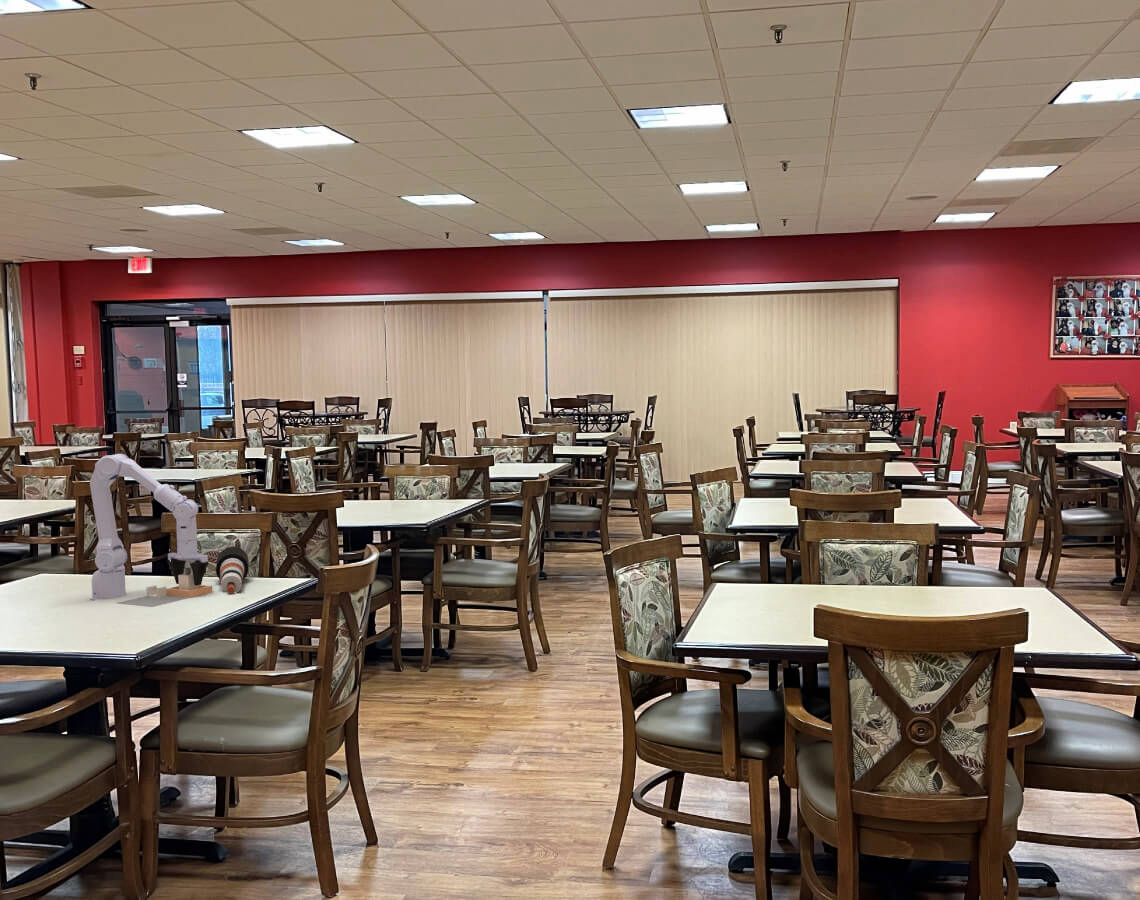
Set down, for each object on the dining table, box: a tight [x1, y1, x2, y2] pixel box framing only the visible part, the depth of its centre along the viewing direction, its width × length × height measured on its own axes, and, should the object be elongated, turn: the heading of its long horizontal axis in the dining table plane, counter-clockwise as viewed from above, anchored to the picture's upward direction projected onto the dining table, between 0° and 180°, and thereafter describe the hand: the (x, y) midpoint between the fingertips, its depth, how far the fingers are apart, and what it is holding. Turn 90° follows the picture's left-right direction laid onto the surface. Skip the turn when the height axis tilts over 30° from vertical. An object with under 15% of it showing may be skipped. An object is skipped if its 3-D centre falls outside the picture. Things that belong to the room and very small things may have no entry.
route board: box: [116, 593, 209, 608], centre depth 308 cm, size 15×24×1 cm, turn 154°
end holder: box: [166, 584, 214, 599], centre depth 313 cm, size 10×9×2 cm
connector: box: [178, 566, 199, 590], centre depth 312 cm, size 4×4×8 cm
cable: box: [215, 546, 250, 595], centre depth 327 cm, size 10×34×10 cm, turn 17°
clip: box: [145, 585, 167, 598], centre depth 309 cm, size 5×3×3 cm, turn 64°
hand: (188, 584), depth 313 cm, fingers open, 7 cm apart
